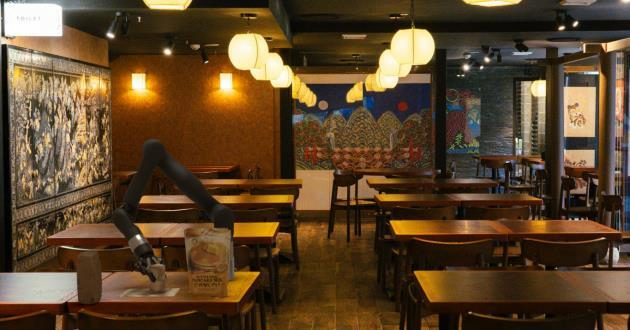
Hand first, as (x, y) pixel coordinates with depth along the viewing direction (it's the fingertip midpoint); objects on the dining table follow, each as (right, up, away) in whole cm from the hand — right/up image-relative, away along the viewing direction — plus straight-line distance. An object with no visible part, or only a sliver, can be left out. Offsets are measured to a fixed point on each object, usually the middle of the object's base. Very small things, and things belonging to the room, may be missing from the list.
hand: (159, 280), depth 309 cm
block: (-26, -8, -6) cm, 28 cm away
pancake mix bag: (+20, -7, 0) cm, 21 cm away
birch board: (-4, -7, +2) cm, 8 cm away
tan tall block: (-1, -5, +1) cm, 5 cm away
